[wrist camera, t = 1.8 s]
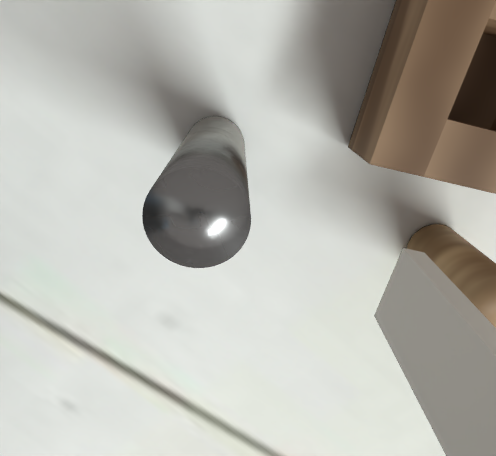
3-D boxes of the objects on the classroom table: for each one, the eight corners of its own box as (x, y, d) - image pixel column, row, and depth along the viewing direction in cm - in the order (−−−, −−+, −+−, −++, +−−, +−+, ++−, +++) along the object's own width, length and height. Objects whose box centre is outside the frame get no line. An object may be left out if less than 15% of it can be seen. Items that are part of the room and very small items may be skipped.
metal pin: (182, 167, 28) (135, 256, 15) (192, 109, 27) (150, 156, 14) (237, 179, 29) (237, 276, 16) (250, 123, 27) (262, 180, 14)
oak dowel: (398, 265, 32) (447, 327, 24) (418, 219, 30) (476, 270, 23) (445, 274, 32) (507, 338, 25) (466, 230, 31) (538, 283, 23)
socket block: (347, 147, 28) (369, 164, 23) (413, -53, 24) (456, -80, 19) (503, 183, 29) (552, 207, 25) (592, 2, 25) (673, -12, 20)
